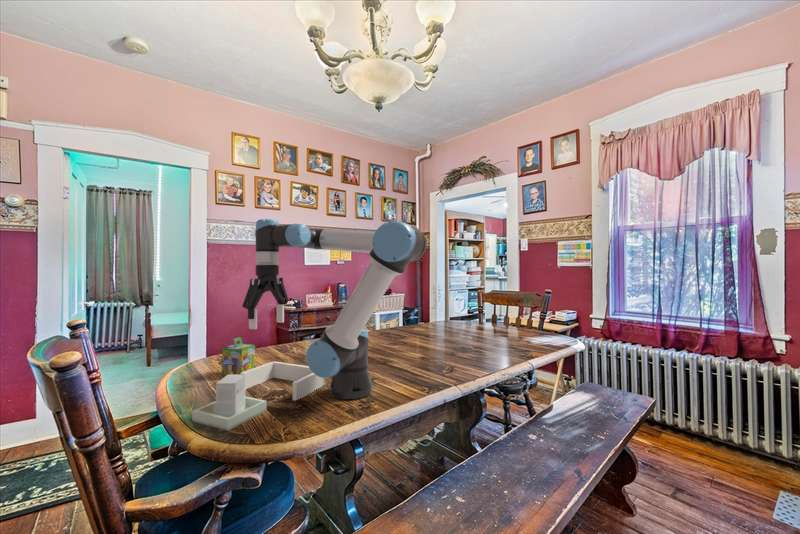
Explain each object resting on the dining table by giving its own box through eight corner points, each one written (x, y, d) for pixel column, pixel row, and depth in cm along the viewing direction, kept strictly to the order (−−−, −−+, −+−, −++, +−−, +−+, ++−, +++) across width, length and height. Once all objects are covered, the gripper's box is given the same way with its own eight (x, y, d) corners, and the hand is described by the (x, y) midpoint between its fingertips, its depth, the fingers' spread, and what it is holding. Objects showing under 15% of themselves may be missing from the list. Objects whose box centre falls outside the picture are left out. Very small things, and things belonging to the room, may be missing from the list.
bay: (325, 384, 126) (325, 368, 126) (296, 400, 110) (296, 382, 110) (273, 375, 135) (273, 361, 135) (240, 389, 120) (240, 372, 120)
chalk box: (241, 378, 131) (241, 341, 131) (221, 376, 133) (221, 340, 133) (255, 371, 140) (256, 336, 140) (236, 369, 142) (237, 335, 142)
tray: (266, 410, 103) (266, 400, 103) (227, 431, 90) (228, 419, 90) (233, 402, 108) (233, 393, 108) (192, 421, 95) (192, 410, 95)
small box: (227, 408, 103) (227, 374, 103) (245, 407, 103) (246, 373, 103) (214, 420, 95) (215, 383, 95) (234, 419, 95) (235, 383, 95)
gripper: (281, 264, 128) (281, 319, 128) (230, 264, 105) (230, 331, 105) (298, 264, 126) (298, 320, 126) (249, 263, 102) (249, 332, 102)
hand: (267, 325), depth 115 cm, fingers open, 13 cm apart
